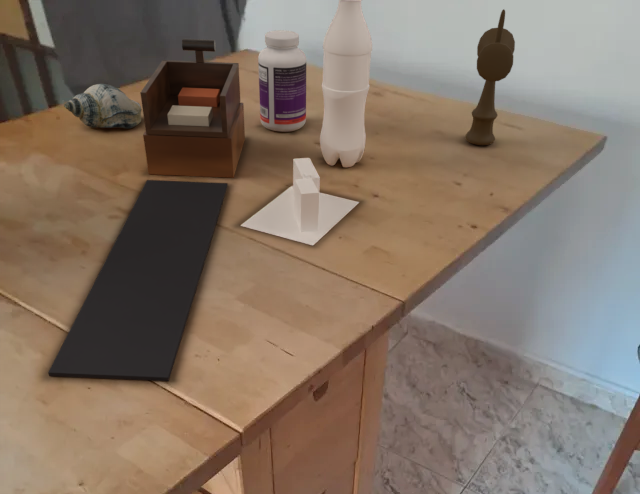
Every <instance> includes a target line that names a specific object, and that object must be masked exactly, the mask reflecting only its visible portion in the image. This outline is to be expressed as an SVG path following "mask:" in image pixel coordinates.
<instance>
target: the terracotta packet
mask: <svg viewBox="0 0 640 494" xmlns="http://www.w3.org/2000/svg"><path fill="white" fill-rule="evenodd" d="M178 101H179V106H202V107H217V106H218V103H219V101H220V89H206V88H182V89H181V91H180V93H179V95H178Z"/></svg>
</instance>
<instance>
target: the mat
mask: <svg viewBox="0 0 640 494" xmlns="http://www.w3.org/2000/svg"><path fill="white" fill-rule="evenodd" d="M228 185H229V184H228V183H227V182H209V181H208V182H207V181H206V182H203V181H182V180H180V181H179V180H159V179H158V180H157V179H146V181H145V183H144V185H143V187H142V189H141V191H140V193H139V195H138V197H137V199H136V200H135V202H134V205H133V206H132V208H131V210H130V213H129V214H128V216H127V218H126V220H125V222H124V224H123V226H122V228H121V230H120V232H119V234H118V235H117V237H116V240H115V242H114V243H113V245H112V248H111V249H110V251H109V253H108V255H107V257H106V259H105V261H104V263H103V265H102V267H101V269H100V271H99V273H98V275H97V277H96V279H95V280H94V282H93V285H92V286H91V289H90V290H89V292H88V294H87V296H86V298H85V300H84V302H83V304H82V306H81V307H80V309H79V312H78V314H77V316H76V317H75V320H74V322H73V323H72V325H71V327H70V329H69V331H68V333H67V335H66V337H65V339H64V341H63V342H62V345H61V346H60V348H59V350H58V352H57V354H56V357H55V359H53V362H52V364H51V366H50V367H49V370H48V371H47V373H48V376H49V377H60V378H61V377H62V378H85V379H105V380H106V379H109V380H129V381H130V380H133V381H153V382H155V381H157V382H169V381H170V378H171V374H172V371H173V368H174V365H175V361H176V359H177V355H178V351H179V349H180V345H181V341H182V339H183V335H184V333H185V329H186V327H187V322H188V318H189V315H190V312H191V309H192V305H193V302H194V300H195V296H196V292H197V288H198V286H199V282H200V279H201V276H202V272H203V269H204V265H205V263H206V260H207V256H208V253H209V249H210V246H211V243H212V239H213V236H214V233H215V229H216V226H217V223H218V219H219V217H220V213H221V210H222V206H223V203H224V200H225V196H226V193H227V191H228V187H229V186H228Z"/></svg>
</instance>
